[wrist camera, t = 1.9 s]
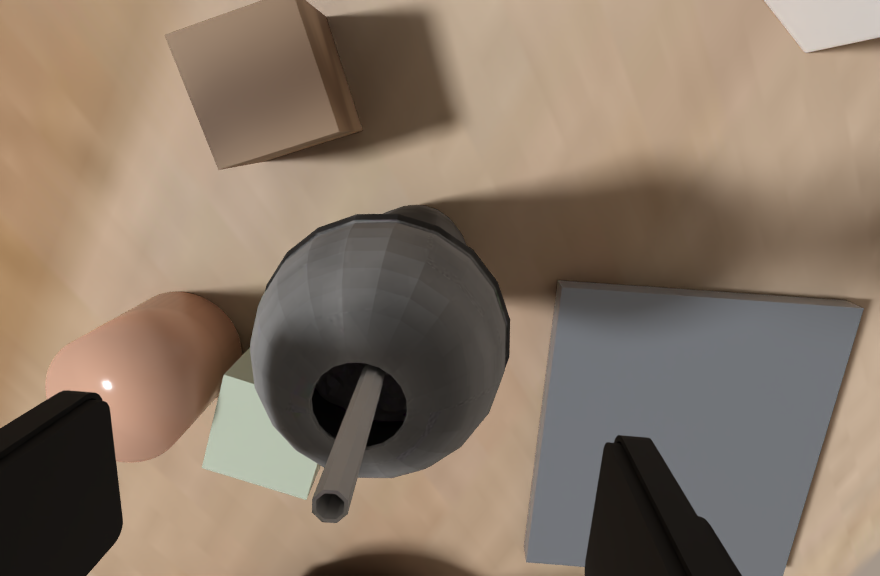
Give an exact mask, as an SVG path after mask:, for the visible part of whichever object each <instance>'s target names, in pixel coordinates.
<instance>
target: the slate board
mask: <svg viewBox="0 0 880 576" xmlns="http://www.w3.org/2000/svg"><path fill="white" fill-rule="evenodd" d="M863 309H864V308H862V307H860V306H858V305H856V304H853V303H851V302H849V301H847V300H835V299H820V298H806V297H791V296H777V295H763V294H748V293H734V292H719V291H705V290H690V289H676V288H661V287H647V286H633V285H618V284H604V283H589V282H575V281H560V280H558V283H557V291H556V298H555V306H554V314H553V322H552V330H551V338H550V345H549V353H548V361H547V369H546V377H545V384H544V392H543V400H542V408H541V416H540V424H539V431H538V439H537V447H536V455H535V463H534V470H533V478H532V486H531V494H530V502H529V510H528V517H527V525H526V533H525V541H524V551H525V558H526V562H530V563H543V564H555V565H567V566H579V567H585V560H586V554H587V548H588V542H589V535H590V529H591V523H592V517H593V511H594V504H595V498H596V492H597V486H598V480H599V473H600V467H601V461H602V455H603V449H604V446H605V443H607V442H611V443H614V440H615V438H616V437H617V436H618V435H623V436H635V437H647V438H650V439H651V440H652V441H653V443H654V444H655V446H656V448H657V449H658V451H659V453H660V454H661V456H662V458H663V459H664V461H665V463H666V464H667V466H668V468H669V469H670V471H671V472H672V474H673V476H674V477H675V479H676V481H677V482H678V484H679V486H680V487H681V489H682V491H683V492H684V494H685V496H686V497H687V499H688V501H689V502H690V504H691V506H692V507H693V509H694V511H695V512H696V514H697V516H700V517H702V518H705V519H706V520H707V522H708V523H709V524H710V525H711V527H712V528H713V530H714V532H715V533H716V535H717V536H718V538H719V540H720V541H721V543H722V544H723V546H724V548H725V549H726V551H727V552H728V554H729V556H730V557H731V559H732V560H733V562H734V564H735V565H736V567H737V568H738V570H739V572H740V573H741V575H742V576H783V574H784V570H785V567H786V564H787V561H788V557H789V554H790V551H791V547H792V544H793V541H794V537H795V534H796V531H797V527H798V524H799V521H800V518H801V514H802V511H803V508H804V504H805V501H806V498H807V494H808V491H809V488H810V484H811V481H812V478H813V475H814V471H815V468H816V465H817V461H818V458H819V455H820V451H821V448H822V445H823V442H824V438H825V435H826V432H827V428H828V425H829V422H830V418H831V415H832V412H833V408H834V405H835V402H836V399H837V395H838V392H839V389H840V385H841V382H842V379H843V375H844V372H845V369H846V365H847V362H848V359H849V356H850V352H851V349H852V346H853V342H854V339H855V336H856V332H857V329H858V326H859V323H860V319H861V316H862V313H863Z"/></svg>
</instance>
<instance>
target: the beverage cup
mask: <svg viewBox="0 0 880 576" xmlns="http://www.w3.org/2000/svg"><path fill="white" fill-rule="evenodd" d="M509 346H510V318H509V315H508V312H507V309H506V306H505V303H504V300H503V297H502V294H501V291H500V288H499V285H498V282H497V281H496V279H495V278H494V277H493V275H492V274H491V273H490V271H489V270H488V269H487V267H486V266H485V265H484V264H483V262H482V261H481V260H480V258H479V257H478V256H477V254H476V253H475V252H474V250H472V249H471V248H470V247H468V246H467V245H466V243H465V240H464V238H463V236H462V234H461V233H460V231H459V230H458V229H457V227H456V226H455V225H454V223H453V222H452V221H451V220H450V218H449V217H447V216H446V215H444V214H443V213H441V212H440V211H439V210H437V209H434V208H430V207H427V206H424V205H408V206H403V207H400V208H397V209H394V210H391V211H388V212H386V213H384V214H356V215H354V216H351V217H348V218H345V219H342V220H339V221H336V222H333V223H331V224H328V225H325V226H322V227H319V228H317V229H316V230H315V231H313V232H312V233H311V234H310V235H308V236H307V237H306V238H305V239H303V240H302V241H301V242H299V243H298V244H297V245H296V246H294V247H293V248H292V249H291V250H289V251H288V252H287V253H286V255H285V257H284V258H283V260H282V261H281V263H280V265H279V266H278V268H277V269H276V271H275V273H274V274H273V276H272V277H271V279H270V280H269V282H268V284H267V286H266V290H265V293H264V295H263V296H262V298H261V300H260V303H259V305H258V309H257V314H256V318H255V323H254V328H253V332H252V337H251V342H250V355H251V363H252V370H253V378H254V386H255V389H256V392H257V394H258V396H259V398H260V400H261V402H262V404H263V406H264V409H265V411H266V413H267V415H268V417H269V419H270V421H271V423H272V425H273V426H274V427H275V429H276V430H277V431H278V432H279V433H280V434H281V435H282V436H283V437H284V438H285V439H286V440H287V441H288V443H289V444H290V445H291V446H292V447H293V448H294V449H295V450H296V451H298V452H299V453H301V454H303V455H304V456H306V457H307V458H309V459H311V460H312V461H314V462H316V463H317V464H319V465H321V466H322V467H324V470H323V473H322V475H321V478H320V481H319V483H318V486H317V488H316V491H315V493H314V496H313V499H312V513H313V514H314V515H315V516H316V517H318V518H319V519H320V520H321V521H322V522H330V523H337V522H339V521H340V520H341V519H342V518H343V517H345V516H346V515H347V514H348V511H349V507H350V503H351V500H352V496H353V492H354V488H355V485H356V481H357V477H358V478H394V477H398V476H401V475H405V474H409V473H412V472H416V471H419V470H423V469H426V468H428V467H430V466H432V465H433V464H435V463H436V462H438V461H439V460H441V459H443V458H444V457H446V456H447V455H449V454H451V453H452V452H454V451H455V450H457V449H458V448H460V447H461V446H462V445H463V444H464V442H465V441H466V440H467V439H468V438H469V436H470V435H471V434H472V433H473V432H474V430H475V429H476V428H477V427H478V426H479V424H480V423H481V422H482V421H483V420H484V418H485V417H486V416H487V415H488V413H489V411H490V409H491V406H492V403H493V401H494V398H495V395H496V393H497V390H498V387H499V385H500V382H501V379H502V377H503V374H504V371H505V367H506V364H507V361H508V359H509Z"/></svg>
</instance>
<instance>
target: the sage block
mask: <svg viewBox="0 0 880 576" xmlns="http://www.w3.org/2000/svg"><path fill="white" fill-rule="evenodd" d="M320 466H321V465H319V464H317V463H316V462H314V461H312V460H311V459H309V458H307V457H306V456H304V455H303V454H301V453H299V452H298V451H296V450H295V449H294V448H293V447H292V446H291V445H290V444H289V443H288V441H287V440H286V439H285V438H284V437H283V436H282V435H281V434H280V433H279V432H278V431H277V430H276V429H275V427H274V426H273V425H272V423H271V421H270V419H269V417H268V415H267V413H266V411H265V409H264V406H263V404H262V402H261V400H260V398H259V396H258V394H257V392H256V389H255V386H254V378H253V370H252V363H251V355H250V348H249V349H248V350H247V351H246V352H245V353H244V354H243V355H242V356H241V357H240V358H239V359H238V360H237V361H236V362H235V363H234V364H233V366H232V367H231V368H230V369H229V370H228V371H227V372H226V373H225V374H224V376H223V380H222V384H221V389H220V393H219V397H218V401H217V406H216V410H215V414H214V418H213V423H212V427H211V431H210V436H209V440H208V444H207V448H206V453H205V457H204V461H203V465H202V468H204V469H207V470H210V471H214V472H217V473H220V474H223V475H227V476H230V477H233V478H236V479H240V480H243V481H246V482H250V483H253V484H256V485H259V486H263V487H266V488H269V489H272V490H276V491H279V492H282V493H285V494H289V495H292V496H295V497H299V498H302V499H305V500H306V499H307V497H308V495H309V492H310V490H311V488H312V485H313V483H314V481H315V478H316V476H317V473H318V471H319V469H320Z"/></svg>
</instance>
